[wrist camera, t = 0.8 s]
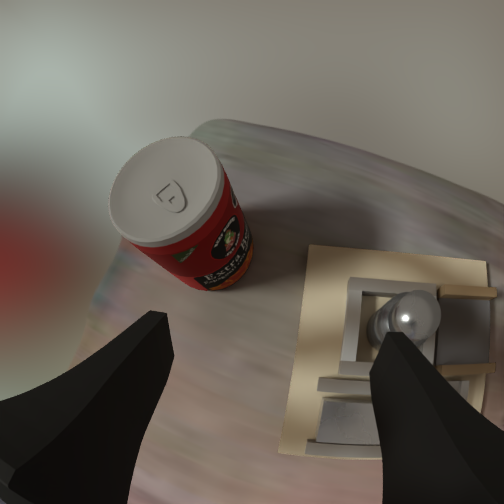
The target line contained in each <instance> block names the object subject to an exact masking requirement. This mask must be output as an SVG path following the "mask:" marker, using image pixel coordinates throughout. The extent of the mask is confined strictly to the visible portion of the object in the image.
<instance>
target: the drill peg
mask: <svg viewBox="0 0 504 504" xmlns="http://www.w3.org/2000/svg"><path fill="white" fill-rule="evenodd" d="M440 320H441V309H440V306H439V303H438V301H437V300H436V298H435V297H434V296H433V295H432V294H430V293H429V292H427V291H424V290H414V291H411V292H402V293H399V294H397V295H395V296H394V297H392V298H391V299H390V300H389V301H388V302H387V303H385V304H384V305H383V306H382V307H381V308H380V309H378V310H377V311H376V312H375V313H374V314H373V315H372V316H371V317H370V319H369V321H368V323H367V328H366V335H367V339H368V341H369V343H370V345H371V346H372V347H373V348H374V349H375V350H377V351H379V349H380V347H381V345H382V342H383V340H384V337H385V335H386V332H403V333H404V334H405V335H406V336H407V337H408V338H409V339H410V340H411V341H412V342H413V343H414V344H415V346H416V347H418V346H420V345H422V344H423V343H424V342H425V341H426V340H427V339H428V337H430V336H431V335H432V334H433V333H434V332H435V331H436V330H437V328H438V326H439V324H440Z"/></svg>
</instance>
